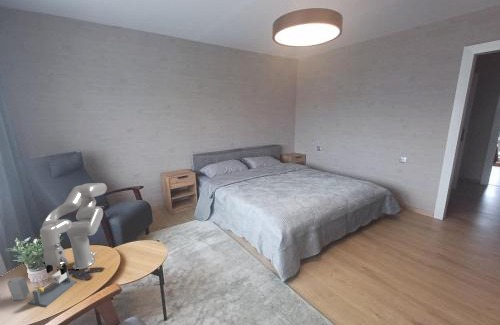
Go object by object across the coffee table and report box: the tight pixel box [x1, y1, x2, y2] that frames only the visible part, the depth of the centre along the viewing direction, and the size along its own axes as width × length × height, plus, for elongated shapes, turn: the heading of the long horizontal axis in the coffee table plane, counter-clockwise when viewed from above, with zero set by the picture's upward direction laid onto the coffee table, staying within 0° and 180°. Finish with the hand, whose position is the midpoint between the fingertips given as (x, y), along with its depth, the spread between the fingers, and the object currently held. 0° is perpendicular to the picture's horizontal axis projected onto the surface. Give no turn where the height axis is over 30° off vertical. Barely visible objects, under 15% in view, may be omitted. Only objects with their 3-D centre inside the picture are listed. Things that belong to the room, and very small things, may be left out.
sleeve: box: [51, 269, 67, 284], centre depth 133 cm, size 5×4×4 cm
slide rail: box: [27, 269, 78, 307], centre depth 130 cm, size 18×12×8 cm, turn 171°
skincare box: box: [6, 276, 31, 301], centre depth 126 cm, size 6×4×12 cm
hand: (57, 272), depth 132 cm, fingers open, 9 cm apart
